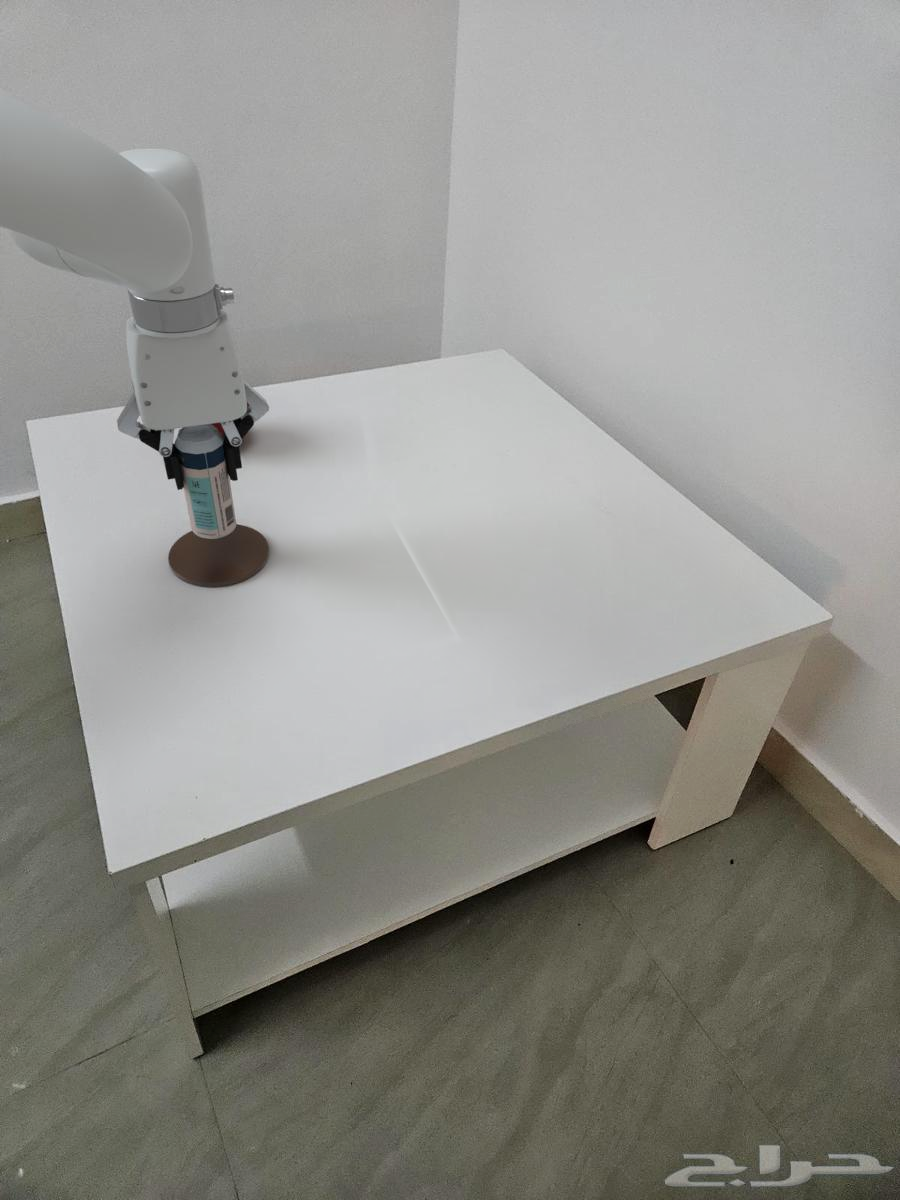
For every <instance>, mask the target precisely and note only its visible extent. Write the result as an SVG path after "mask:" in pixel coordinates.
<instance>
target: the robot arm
mask: <svg viewBox="0 0 900 1200" xmlns="http://www.w3.org/2000/svg"><path fill="white" fill-rule="evenodd" d="M203 193H204V192H203V187H202V181H201V175H200V171H199V169H198V167H197V165H196V163H195V162H194V160H193V159H192V158H191V157H189V156H188V155H187V154H185V153H182V152H180V151H176V150H173V149H167V148H154V147H152V148H150V147H149V148H146V147H145V148H134V149H127V150H123V151H120V152H117V151H116V150H114V149H112V147H110V146H108V145H107V144H105V143H103V142H101V141H100V140H98V139H97V138H95V137H93V136H91V135H89V134H88V133H87V132H85V131H82V130H81V129H79V128H77V127H75V126H73V125H71V124H69V123H68V122H66V121H64V120H62V119H61V118H58V117H57V116H54V115H52V114H51V113H49V112H47V111H45V110H43V109H41V108H38V107H37V106H35V105H34V104H31V103H29V102H28V101H25V100H24V99H22V98H20V97H18V96H16V95H15V94H13V93H12V92H9V91H7V90H5V89H4V88H2V87H1V86H0V227H1V228H4V229H7V232H8V234H9V235H10V237H11V239H12V240H13V241H14V242H15V244H16V245H17V246H18V247H19V248H20V249H21V250H22V251H23V252H24V253H25V254H26V255H28V256H29V257H30V258H32V259H34V260H35V261H37V262H39V263H41V264H43V265H45V266H48V267H51V268H53V269H57V270H61V271H65V272H67V273H70V274H75V275H78V276H82V277H85V278H92V279H96V280H98V281H101V282H106V283H109V284H113V285H116V286H120V287H123V288H126V289H127V293H128V298H129V303H130V307H131V313H132V316H131V317H129V318H128V319H127V320H126V323H125V338H126V340H125V341H126V352H127V360H128V365H129V366H128V367H129V371H130V377H131V383H132V388H133V392H132V394H131V395H130V397H129V399H128V401H127V403H126V404H125V406H124V408H123V409H122V411H121V413H120V414H119V416H118V418H117V420H116V424H117V430H118V431H119V432H120V433H123V434H125V435H128V436H130V437H132V438H134V439H137V440H139V441H140V442H141V443H143V444H144V445H146V446H148V447H150V448H152V449H153V450H155V451H157V452H158V453H159V455H160V456H161V457H162V460H163V464H164V468H165V473H166V477H167V480H174V481H175V486H176V489H177V491H179V490H180V491H181V490H184V483H183V478H182V473H181V468H180V463H179V458H178V454H177V451H176V447H175V442H174V438H175V437H174V436H175V435H174V434H175V430H177V429H181V428H184V427H192V426H199V425H206V424H213V423H221V425H222V427H223V429H224V433H223V439H224V448H225V455H226V461H227V467H228V474H229V479H230V481H232V482H236V481H238V480H239V478H238V471H237V470H239V469H242V468H243V466H242V465H243V463H242V456H241V449H240V446H241V445H242V443H243V439H244V437H245V436H246V435H247V434H248V433H249V432H250V430H251V429H252V428H253V427H254V425H255V423H256V422H258V421H259V420H260V419H261V418H262V417H263V416H265V415H266V414H267V413H268V412H269V410H270V405H269V404H268V402H267V400H266V399H265V398H264V397H263V396H262V395H260V393H259V392H257V390H256V389H255V388H253V387H252V386H251V385H250V384H249V383H248V382H247V381H246V380H244V376H243V371H242V366H241V361H240V357H239V352H238V349H237V348H238V347H237V345H236V341H235V338H234V333H233V329H232V326H231V323H230V320H229V317H228V315H227V313H226V311H225V310H223V308H224V306H225V307H226V306H227V305H231V304H235V296H234V291H233V288H232V287H226V288H224V286H219V284H218V283H216V280H215V272H214V271H215V270H214V264H213V257H212V250H211V243H210V237H209V230H208V223H207V215H206V207H205V202H204V194H203ZM247 403H249V406H248V407H247ZM139 418H140V420H141V422H142V423H141V422H140V421H138V419H139Z"/></svg>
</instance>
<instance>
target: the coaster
mask: <svg viewBox="0 0 900 1200" xmlns="http://www.w3.org/2000/svg"><path fill="white" fill-rule="evenodd" d="M269 557H270V546H269V543H268V540H267V539H266V538H265V536H264V535H263V534H262V533H261V532H260V531H258V530H257V529H254V528H252V527H250V526H247V525H244V524H239V523H236V528H235V529H234V530H233V531H232V532H231V533H230V534H228V535H227V536H224V537H221V538H217V539H208V538H202V537H199V536H197V535H196V534H194V532H193V531H192V530H190V531H189V532H186V533H185V534H183V535H181V536H180V537H178V538H177V540H176V541H174V543H173V544H172V546H171V548H170V549H169V552H168V555H167V559H168V565H169V568H170V570H171V572H172V573H173V574H174V576H175V577H177V578H178V579H179V580H181V581H182V582H184V583H187V584H190V585H193V586H195V587H196V586H198V587H201V588H202V587H203V588H220V587H228V586H231V585H236V584H239V583H242V582H244V581H246V580H249V579H250V578H252V577H254V576H255V575H256V574H257V573H259V572H260V571H262V569H264V567H265V566H266V564H267V563H268V560H269Z"/></svg>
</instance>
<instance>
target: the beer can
mask: <svg viewBox="0 0 900 1200" xmlns="http://www.w3.org/2000/svg"><path fill="white" fill-rule="evenodd" d="M174 443H175V447H176V451H177V454H178V458H179V463H180V468H181V473H182V478H183V483H184V488H183V492H184V497H185V502H186V507H187V512H188V517H189V522H190V528H191V531H193V532H194V534H196V535H197V536H199V537H202V538H208V539H217V538H221V537H224V536H227V535H228V534H230V533H231V532H232V531H233V530H234V529H235V528H236V524H237V518H236V512H235V505H234V499H233V491H232V487H231V485H232V484H231V480H230V477H229V474H228V467H227V461H226V455H225V448H224V439H223V436H222V435H221V433H220V432H219V431H218V429H217V428H216V427H214V426H213V425H211V424H206V425H199V426H192V427H184V428H179V430H178V433H177V435H176V438H175V441H174Z"/></svg>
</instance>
